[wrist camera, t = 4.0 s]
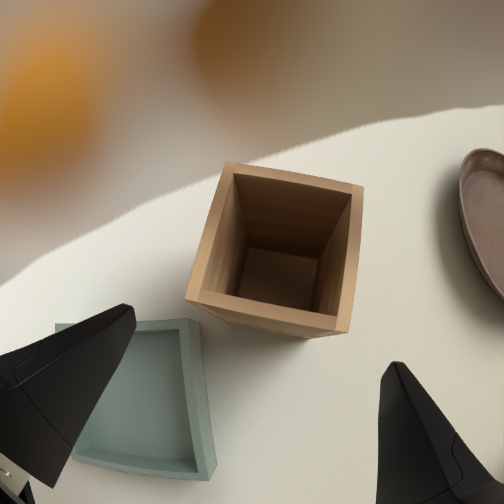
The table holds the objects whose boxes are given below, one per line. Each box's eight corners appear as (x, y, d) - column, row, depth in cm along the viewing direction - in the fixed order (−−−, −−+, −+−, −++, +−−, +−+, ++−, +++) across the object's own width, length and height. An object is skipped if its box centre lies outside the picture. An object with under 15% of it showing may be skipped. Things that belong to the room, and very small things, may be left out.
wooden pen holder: (309, 338, 19) (348, 332, 9) (225, 321, 20) (184, 298, 10) (324, 257, 21) (363, 186, 11) (244, 242, 21) (225, 162, 12)
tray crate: (217, 464, 16) (208, 480, 13) (92, 450, 16) (72, 459, 13) (199, 322, 20) (187, 318, 17) (77, 327, 20) (55, 323, 17)
